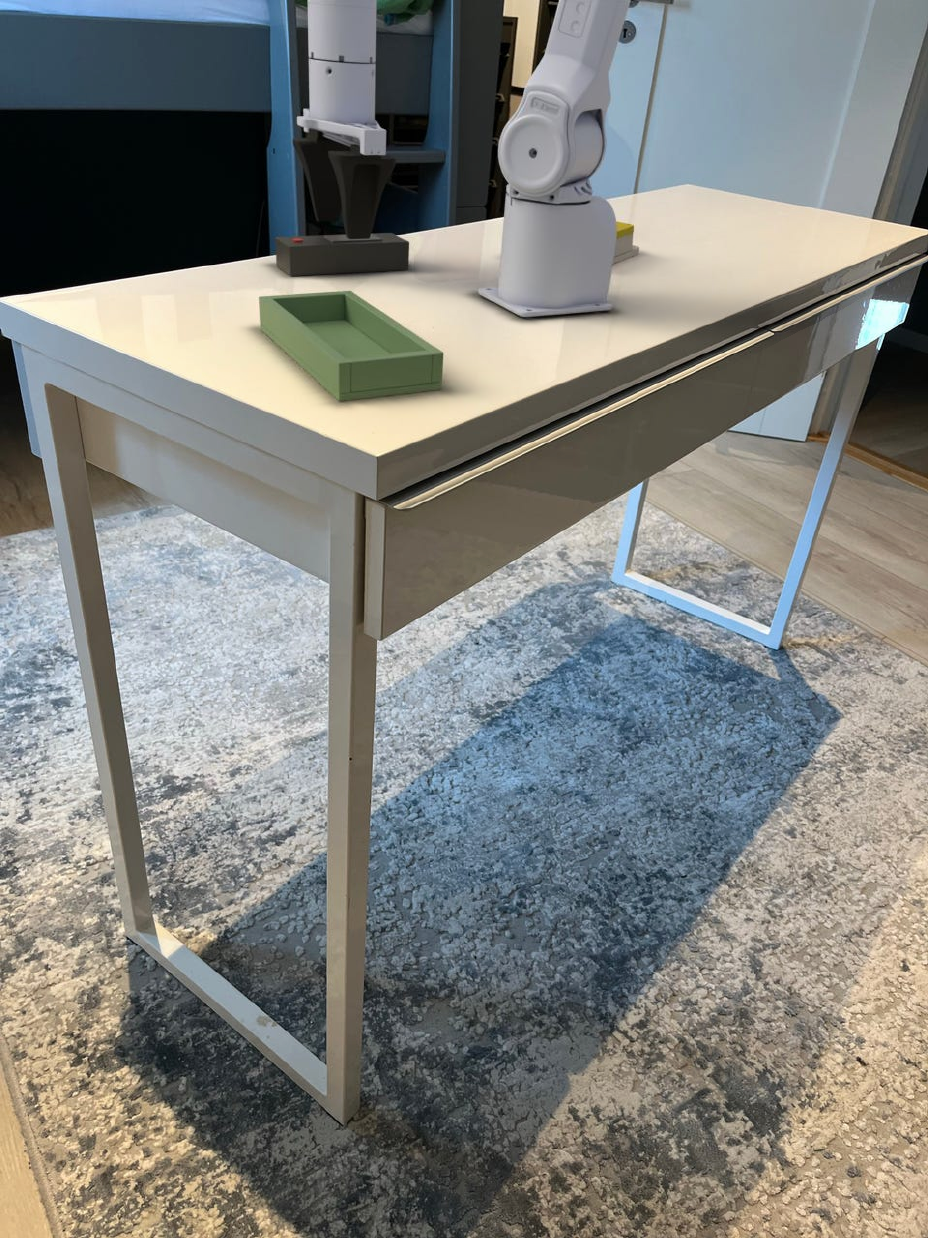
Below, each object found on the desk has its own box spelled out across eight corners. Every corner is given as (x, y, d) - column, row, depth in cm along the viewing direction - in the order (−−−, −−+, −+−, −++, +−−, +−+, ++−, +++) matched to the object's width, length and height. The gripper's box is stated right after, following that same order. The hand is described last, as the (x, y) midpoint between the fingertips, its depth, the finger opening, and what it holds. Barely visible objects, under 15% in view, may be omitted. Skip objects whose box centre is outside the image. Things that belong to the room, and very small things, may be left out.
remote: (391, 260, 93) (392, 231, 91) (408, 269, 90) (409, 239, 88) (276, 265, 87) (274, 235, 86) (290, 276, 85) (289, 244, 83)
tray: (350, 322, 74) (350, 290, 72) (441, 389, 62) (443, 352, 61) (260, 329, 71) (258, 296, 69) (339, 401, 59) (339, 362, 58)
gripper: (269, 51, 83) (276, 214, 90) (329, 65, 72) (331, 248, 80) (343, 55, 86) (343, 212, 93) (410, 69, 75) (404, 245, 83)
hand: (342, 229), depth 87 cm, fingers open, 7 cm apart
